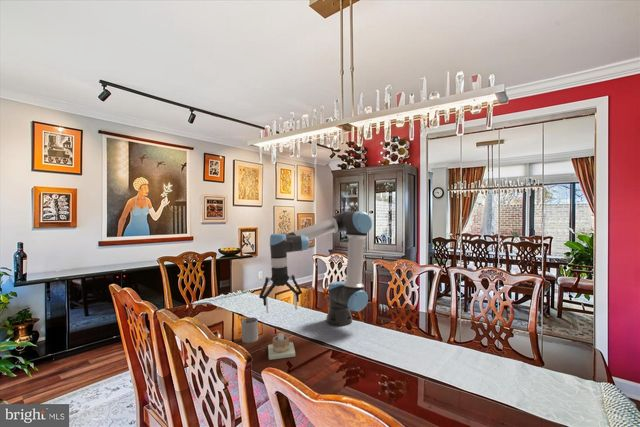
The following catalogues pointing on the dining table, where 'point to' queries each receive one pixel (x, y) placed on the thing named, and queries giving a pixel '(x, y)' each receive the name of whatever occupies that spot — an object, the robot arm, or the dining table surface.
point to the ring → (281, 344)
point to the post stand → (285, 354)
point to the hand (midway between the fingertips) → (281, 310)
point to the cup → (249, 330)
